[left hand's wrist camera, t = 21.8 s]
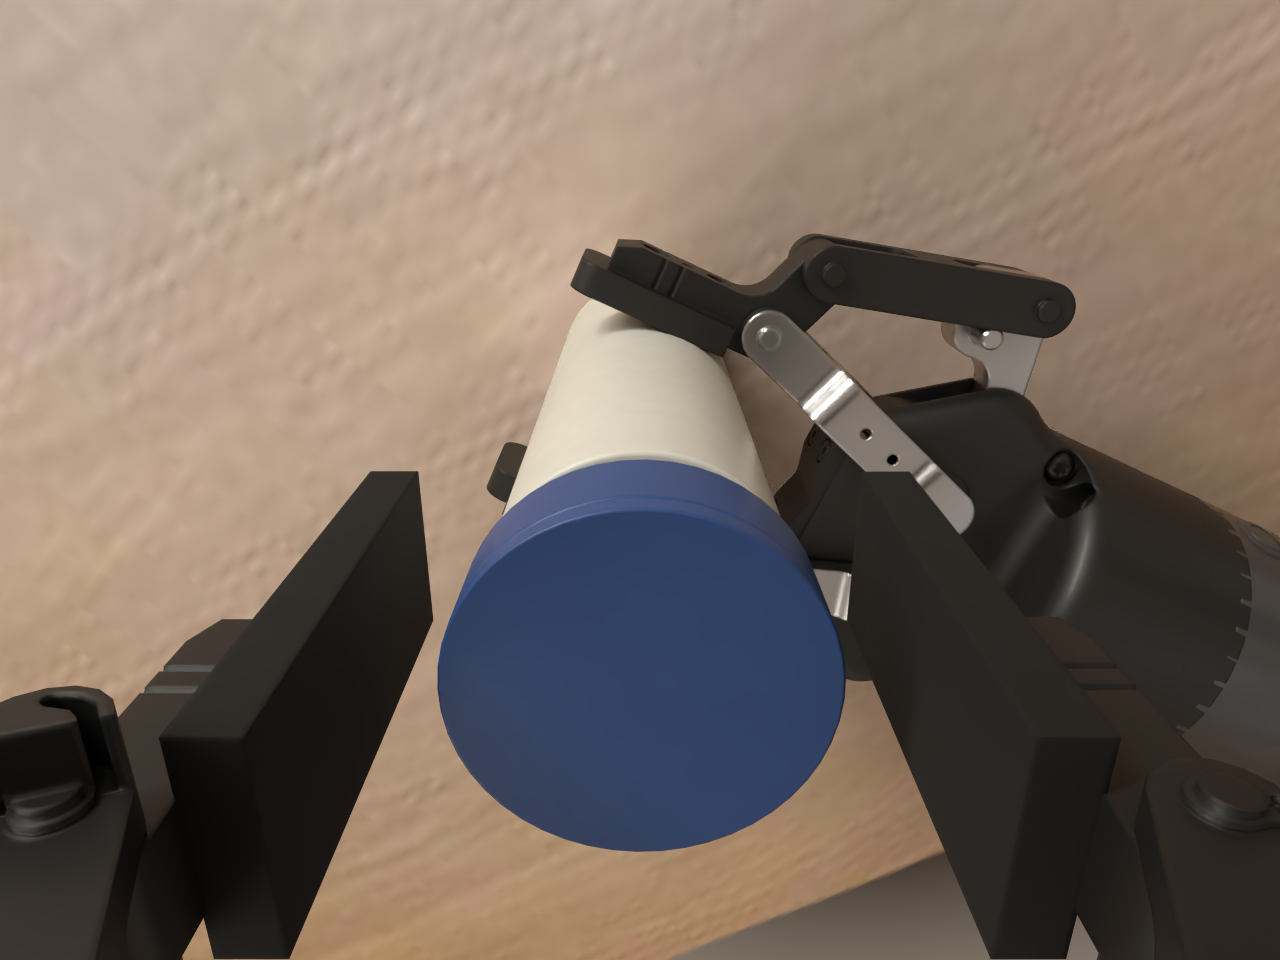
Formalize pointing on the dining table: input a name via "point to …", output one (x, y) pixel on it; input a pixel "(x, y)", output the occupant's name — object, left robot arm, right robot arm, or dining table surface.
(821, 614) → the lid
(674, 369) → the jar
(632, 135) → the dining table surface
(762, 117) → the dining table surface
